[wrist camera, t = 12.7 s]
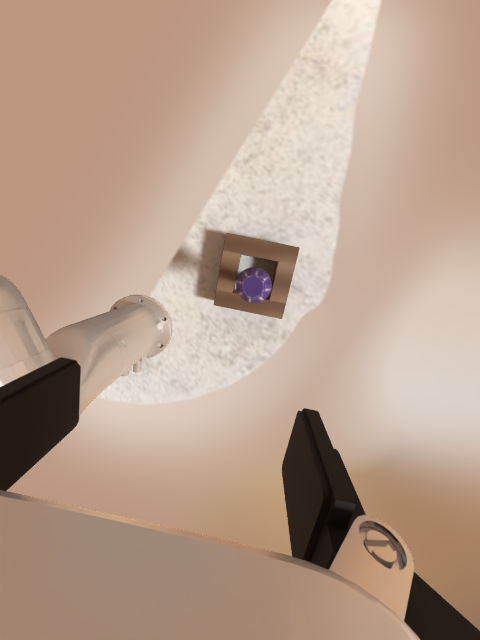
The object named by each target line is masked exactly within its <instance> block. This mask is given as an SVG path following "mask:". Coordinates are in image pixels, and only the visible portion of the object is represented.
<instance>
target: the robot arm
mask: <svg viewBox="0 0 480 640" xmlns="http://www.w3.org/2000/svg"><path fill="white" fill-rule="evenodd" d="M142 299H143V300H142ZM165 318H166V319H165ZM171 335H172V324H171V320H170V317H169V315H168V313H167V311H166V310H165V309H164V307H163V306H162V305H161V304H160V303H158V302H157V301H156V300H154V299H152V298H150V297H147V296H143V295H131V296H127V297H124V298H122V299H120V300H119V301H117V302H116V303H115V304H114V305H113V306H112V308H111V310H110V311H109V312H106V313H104V314H101V315H98V316H95V317H92V318H89V319H86V320H83V321H80V322H77V323H75V324H71V325H69V326H66V327H63V328H61V329H59V330H57V331H56V332H54V333H53V334H51V335H50V336H49V337H48V338H47V339H46V340H45V338H44V336H43V334H42V332H41V330H40V328H39V327H38V324H37V322H36V321H35V319H34V317H33V315H32V313H31V311H30V309H29V308H28V306H27V304H26V302H25V300H24V298H23V297H22V295H21V293H20V292H19V290H18V289H17V287H16V286H15V285H14V284H13V283H12V282H11V281H9V280H8V279H7V278H5V277H3V276H2V275H0V640H480V631H479V630H478V629H477V628H476V627H474V626H473V625H472V624H471V623H470V622H469V621H468V620H467V619H466V618H464V617H463V616H462V615H461V614H460V613H459V612H458V611H457V610H456V609H455V608H453V607H452V606H451V605H450V604H449V603H448V602H447V601H445V600H444V599H443V598H442V597H441V596H440V595H439V594H438V593H437V592H436V591H434V590H433V589H432V588H431V587H430V586H429V585H428V584H427V583H426V582H425V581H423V580H422V579H421V578H420V577H419V576H418V575H417V574H416V573H415V572H414V560H413V558H412V555H411V552H410V550H409V549H408V547H407V545H406V543H405V542H404V541H403V539H402V538H401V537H400V536H399V535H398V533H397V532H395V531H394V530H393V529H392V528H391V527H390V526H389V525H387V524H386V523H384V522H383V521H381V520H380V519H377V518H375V517H373V516H368V515H366V514H365V512H364V510H363V507H362V505H361V503H360V501H359V498H358V496H357V494H356V491H355V489H354V486H353V484H352V482H351V480H350V477H349V475H348V473H347V470H346V468H345V466H344V464H343V461H342V459H341V456H340V454H339V452H338V451H337V450H336V449H333V446H332V444H331V441H330V439H329V436H328V434H327V432H326V429H325V427H324V424H323V422H322V419H321V417H320V414H319V412H318V411H315V410H310V409H305V408H304V409H303V410H302V411H298V413H297V416H296V419H295V423H294V426H293V429H292V433H291V437H290V440H289V443H288V447H287V450H286V454H285V457H284V461H283V465H282V476H283V484H284V492H285V501H286V508H287V517H288V525H289V533H290V542H291V549H292V557H291V556H288V555H285V554H281V553H277V552H273V551H269V550H265V549H261V548H257V547H253V546H249V545H244V544H241V543H237V542H233V541H229V540H224V539H220V538H215V537H211V536H207V535H202V534H198V533H193V532H189V531H184V530H180V529H176V528H171V527H167V526H163V525H158V524H154V523H149V522H145V521H140V520H136V519H131V518H127V517H122V516H118V515H113V514H109V513H104V512H99V511H95V510H90V509H86V508H81V507H77V506H72V505H68V504H63V503H59V502H54V501H49V500H44V499H40V498H35V497H31V496H26V495H21V494H17V493H12V492H7V490H8V489H9V488H10V487H11V486H12V485H13V484H14V483H15V482H16V481H17V480H19V479H20V478H21V477H22V476H23V475H24V474H25V473H26V472H27V471H28V470H29V469H31V468H32V467H33V466H34V465H35V464H36V463H37V462H38V461H39V460H40V459H41V458H42V457H44V456H45V455H46V454H47V453H48V452H49V451H50V450H51V449H52V448H53V447H54V446H55V445H57V444H58V443H59V442H60V441H61V440H62V439H63V438H64V437H65V436H66V435H67V434H69V433H70V431H72V430H73V429H74V428H75V427H76V425H77V423H78V421H79V416H80V415H81V413H82V412H83V410H84V409H85V408H86V407H87V406H88V405H89V404H90V403H91V401H93V399H95V398H96V397H97V396H98V395H99V394H100V393H101V392H102V391H103V390H104V389H105V388H107V387H108V386H109V385H110V384H111V383H112V382H114V381H115V380H116V379H117V378H119V377H120V376H127V375H129V370H130V367H131V366H133V365H134V366H133V371H134V372H140V371H141V362H142V361H143V360H144V359H145V358H149V357H153V356H155V355H157V354H159V353H160V352H161V351H162V350H163V349H164V348H165V347H166V346H167V345H168V343H169V341H170V338H171ZM161 344H162V345H163V346H162V345H161Z"/></svg>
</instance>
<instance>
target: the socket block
mask: <svg viewBox="0 0 480 640" xmlns="http://www.w3.org/2000/svg"><path fill="white" fill-rule="evenodd" d="M298 252H299V247H294V246H289V245H284V244H279V243H274V242H269V241H264V240H259V239H254V238H249V237H244V236H239V235H234V234H229V233H226V237H225V242H224V248H223V254H222V260H221V266H220V272H219V277H218V283H217V289H216V295H215V301H214V305H216V306H221V307H226V308H231V309H236V310H240V311H245V312H250V313H255V314H260V315H265V316H270V317H275V318H279V319H282V317H283V313H284V309H285V305H286V301H287V297H288V293H289V288H290V284H291V280H292V276H293V272H294V268H295V264H296V260H297V256H298ZM241 254H242V255H247V256H252V257H257V258H262V259H267V260H272V261H277V262H276V267H275V271H274V276H273V280H272V289H271V292H270V294H269V297H267V298H266V299H265V300H263V301H261V302H258V303H250V302H247V301H245V300H243V299H242V298H241V297H240V295H239V294H238V292H237V290H234V289H235V284H236V278H237V273H238V268H239V263H240V257H241Z"/></svg>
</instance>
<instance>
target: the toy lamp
mask: <svg viewBox="0 0 480 640" xmlns="http://www.w3.org/2000/svg"><path fill="white" fill-rule="evenodd" d="M236 287H237V292H238V294H239V295H240V297H241V298H242V299H243V300H245V301H247V302H250V303H258V302H261V301H263V300H265V299H266V298H267V297H268V296H269V294H270V292H271V289H272V282H271V278H270V276H269V275H268V273H267V272H266V271H264V270H263V269H261V268H257V267H251V268H248V269H245V270H244V271H243V272H242V273H241V274H240V275H239V277H238V279H237V283H236Z"/></svg>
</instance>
